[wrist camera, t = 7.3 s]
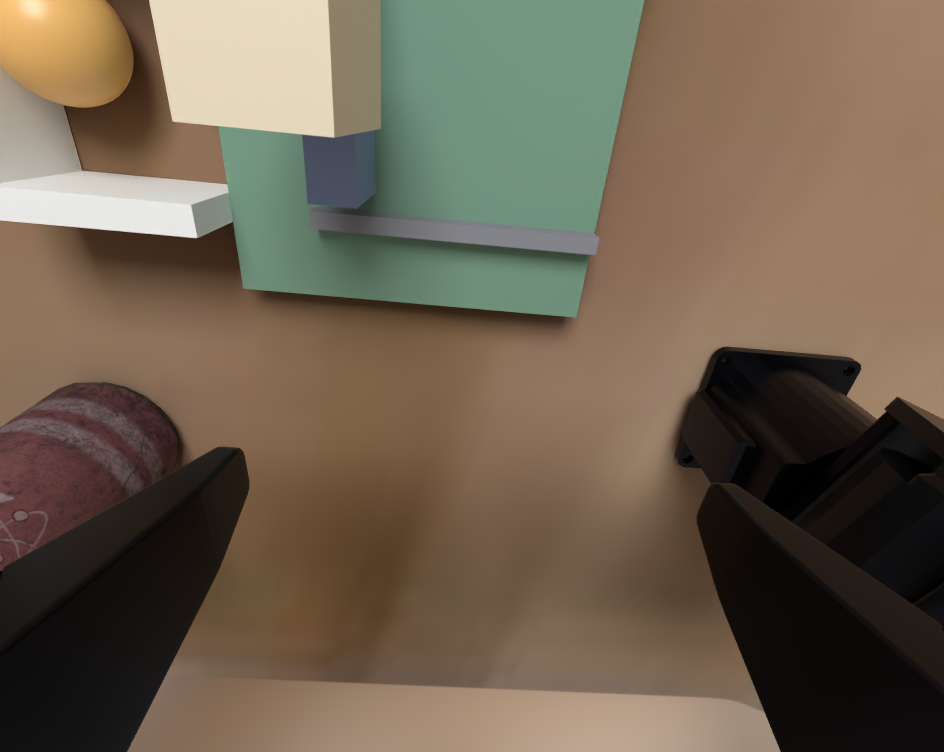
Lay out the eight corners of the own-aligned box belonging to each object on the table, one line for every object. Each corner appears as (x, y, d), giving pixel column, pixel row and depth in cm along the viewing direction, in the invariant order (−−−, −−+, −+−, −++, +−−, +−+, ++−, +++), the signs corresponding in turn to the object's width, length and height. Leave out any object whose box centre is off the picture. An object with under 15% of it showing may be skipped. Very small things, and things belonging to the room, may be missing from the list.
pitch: (677, -222, 13) (715, -285, 11) (569, 304, 20) (580, 325, 18) (182, -290, 12) (124, -370, 10) (258, 276, 19) (233, 295, 17)
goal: (201, -152, 13) (104, -246, 10) (250, 213, 18) (197, 238, 15) (-57, -185, 13) (-251, -293, 10) (63, 196, 18) (-36, 216, 14)
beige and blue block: (399, -79, 13) (314, -297, 6) (396, 195, 16) (340, 255, 9) (294, -91, 13) (85, -328, 6) (313, 186, 16) (196, 242, 9)
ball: (4, -36, 14) (137, -17, 15) (46, 101, 16) (162, 112, 17) (-96, -73, 11) (76, -47, 12) (-31, 101, 13) (116, 114, 14)
